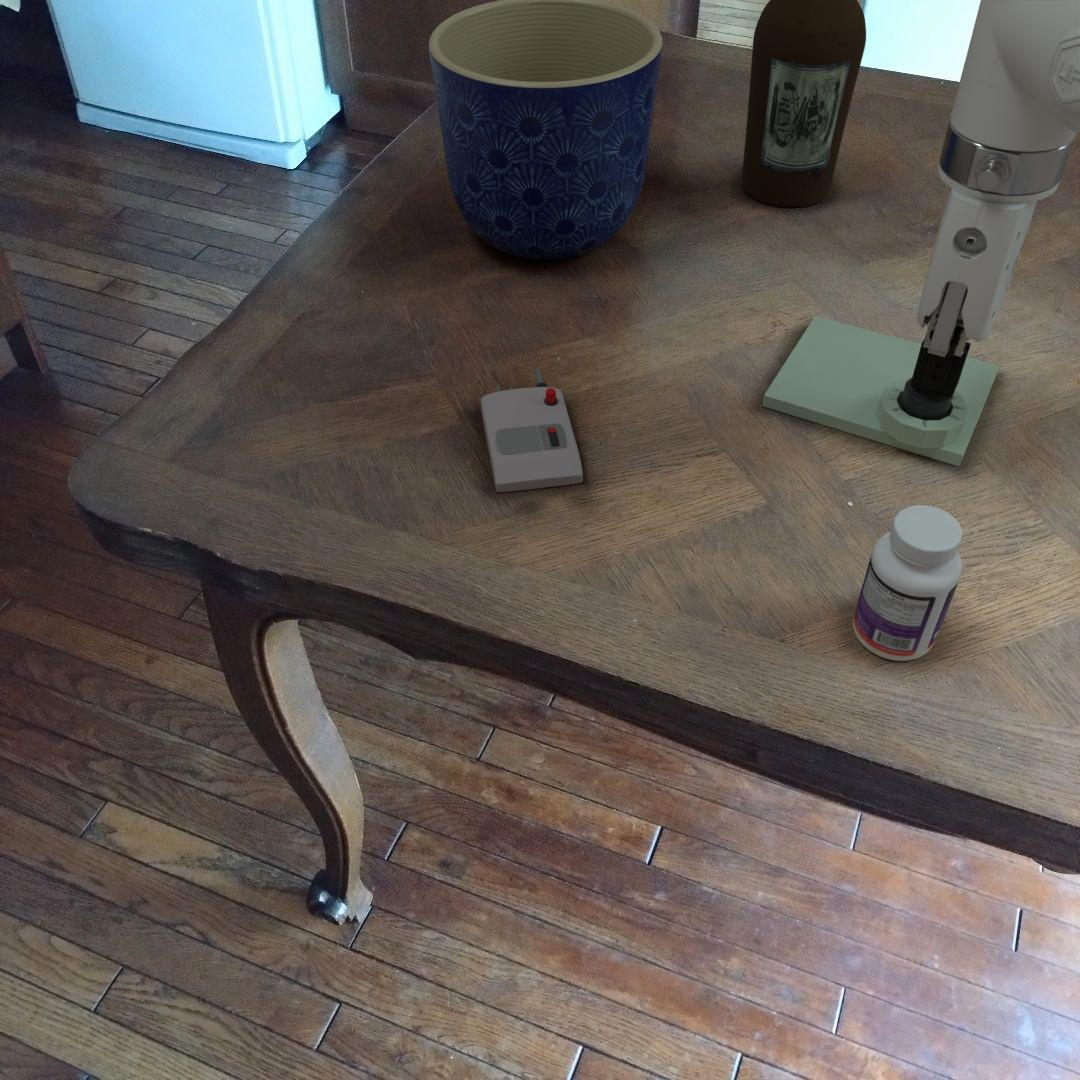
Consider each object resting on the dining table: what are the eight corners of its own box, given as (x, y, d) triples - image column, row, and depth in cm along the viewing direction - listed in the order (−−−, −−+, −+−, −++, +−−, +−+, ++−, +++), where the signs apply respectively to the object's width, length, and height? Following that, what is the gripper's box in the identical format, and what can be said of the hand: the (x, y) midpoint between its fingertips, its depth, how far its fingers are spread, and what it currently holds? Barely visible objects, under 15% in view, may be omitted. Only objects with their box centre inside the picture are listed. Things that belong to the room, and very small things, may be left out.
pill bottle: (898, 590, 73) (933, 486, 66) (952, 645, 69) (995, 541, 62) (833, 617, 71) (863, 513, 64) (885, 675, 68) (923, 571, 61)
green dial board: (995, 376, 89) (1006, 347, 87) (956, 473, 81) (967, 443, 79) (812, 326, 95) (818, 297, 93) (758, 411, 87) (763, 382, 84)
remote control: (499, 510, 79) (497, 480, 77) (475, 383, 90) (473, 354, 87) (587, 499, 79) (588, 469, 77) (553, 375, 90) (552, 346, 88)
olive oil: (734, 161, 117) (765, -93, 99) (831, 165, 116) (881, -91, 98) (736, 209, 110) (770, -57, 92) (840, 213, 109) (895, -54, 91)
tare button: (952, 401, 83) (958, 383, 82) (941, 427, 81) (947, 409, 80) (906, 388, 84) (912, 370, 83) (894, 413, 82) (899, 395, 81)
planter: (667, 196, 112) (682, 5, 98) (624, 301, 98) (635, 96, 84) (481, 173, 116) (471, -14, 102) (415, 271, 102) (393, 70, 89)
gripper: (1042, 219, 62) (959, 458, 75) (1084, 121, 71) (1004, 349, 84) (913, 191, 65) (855, 427, 78) (970, 101, 74) (910, 325, 87)
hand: (933, 386), depth 81 cm, fingers closed
